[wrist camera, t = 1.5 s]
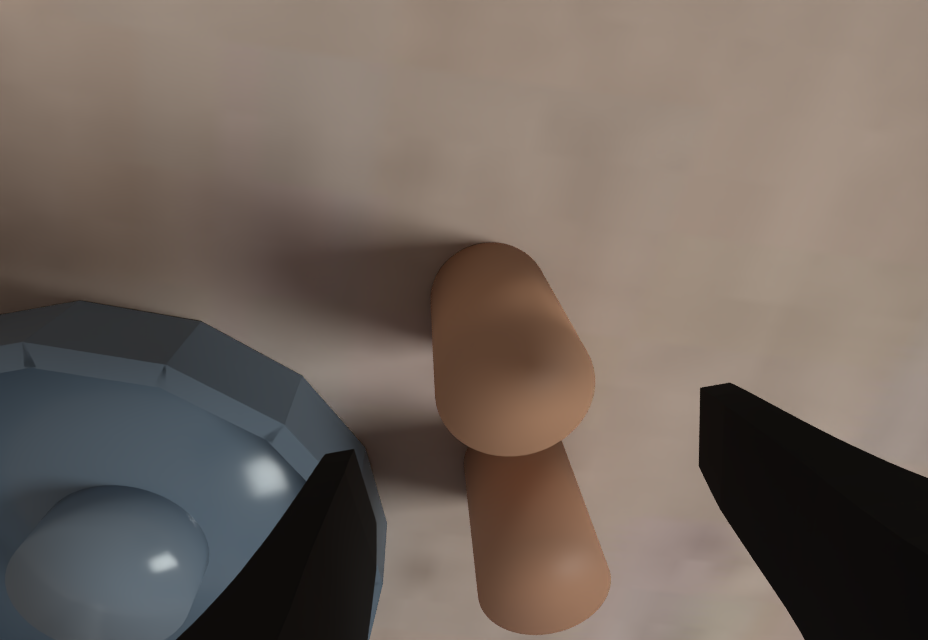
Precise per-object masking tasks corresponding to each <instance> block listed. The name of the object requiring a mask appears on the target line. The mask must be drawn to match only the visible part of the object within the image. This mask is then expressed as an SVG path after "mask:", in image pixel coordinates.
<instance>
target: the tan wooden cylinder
mask: <svg viewBox="0 0 928 640" xmlns="http://www.w3.org/2000/svg"><path fill="white" fill-rule="evenodd" d="M431 322H432V343H433V363H434V384H435V399H436V406H437V409H438V412H439V415H440V417H441V419H442V421H443V423H444V424H445V426H446V427H447V429H448V430H449V431H450V432H451V433H452V434H453V436H455V437H456V438H457V439H458V440H459V441H461V442H462V443H464V444H465V445H467V446H468V447H470V448H473V449H475V450H477V451H480V452H483V453H486V454H490V455H495V456H522V455H528V454H532V453H536V452H539V451H542V450H544V449H546V448H549V447H551V446H553V445H555V444H556V443H558V442H559V441H561V440H563V439H564V438H565V437H566V436H568V435H569V434H570V433H571V432H572V431H573V430H574V429H575V428H576V427H577V426H578V425H579V424H580V422H581V421H582V420H583V418H584V416H585V415H586V413H587V412H588V409H589V407H590V405H591V402H592V399H593V395H594V389H595V374H594V368H593V365H592V361H591V359H590V357H589V355H588V353H587V351H586V349H585V347H584V345H583V344H582V342H581V340H580V338H579V337H578V335H577V333H576V331H575V330H574V328H573V326H572V324H571V322H570V321H569V319H568V317H567V315H566V314H565V312H564V310H563V308H562V307H561V305H560V303H559V301H558V300H557V298H556V296H555V294H554V292H553V291H552V289H551V287H550V285H549V284H548V282H547V280H546V278H545V277H544V275H543V273H542V271H541V269H540V268H539V266H538V265H537V264H536V262H535V261H534V260H533V259H532V258H531V257H530V256H529V255H527V254H526V253H525V252H523V251H521V250H520V249H518V248H515V247H513V246H510V245H507V244H502V243H480V244H476V245H472V246H470V247H467V248H465V249H463V250H461V251H459V252H457V253H456V254H455V255H453V256H452V257H451V258H450V259H448V260H447V261H446V262H445V264H444V265H443V266H442V267H441V268H440V270H439V272H438V273H437V275H436V277H435V279H434V282H433V285H432V289H431Z"/></svg>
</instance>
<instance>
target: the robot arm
mask: <svg viewBox="0 0 928 640" xmlns="http://www.w3.org/2000/svg"><path fill="white" fill-rule="evenodd" d="M699 467H700V469H701V472H702V474H703V476H704V478H705V480H706V482H707V484H708V486H709V488H710V490H711V492H712V494H713V496H714V498H715V500H716V502H717V504H718V506H719V508H720V510H721V511H722V513H723V514H724V516H725V518H726V519H727V521H728V522H729V524H730V525H731V527H732V528H733V530H734V531H735V533H736V534H737V536H738V537H739V539H740V540H741V542H742V543H743V545H744V546H745V548H746V549H747V551H748V552H749V554H750V555H751V557H752V558H753V560H754V561H755V563H756V564H757V566H758V567H759V569H760V570H761V572H762V573H763V575H764V576H765V577H766V579H767V580H768V582H769V583H770V585H771V586H772V588H773V589H774V591H775V592H776V594H777V595H778V597H779V598H780V600H781V601H782V603H783V604H784V606H785V607H786V609H787V611H788V612H789V614H790V615H791V617H792V619H793V620H794V622H795V623H796V625H797V627H798V628H799V630H800V632H801V634H802V635H803V637H804V639H805V640H928V478H926V477H924V476H921V475H919V474H916V473H913V472H911V471H908V470H906V469H904V468H901V467H899V466H896V465H894V464H892V463H889V462H887V461H885V460H883V459H880V458H878V457H876V456H874V455H872V454H869V453H867V452H865V451H863V450H861V449H859V448H856V447H854V446H852V445H850V444H848V443H846V442H844V441H842V440H840V439H838V438H835V437H833V436H831V435H829V434H827V433H825V432H823V431H821V430H819V429H818V428H816V427H814V426H812V425H810V424H808V423H806V422H804V421H802V420H800V419H798V418H796V417H795V416H793V415H791V414H789V413H787V412H785V411H783V410H781V409H780V408H778V407H776V406H774V405H772V404H770V403H768V402H767V401H765V400H763V399H761V398H759V397H757V396H755V395H754V394H752V393H750V392H748V391H746V390H744V389H742V388H740V387H738V386H736V385H734V384H732V383H725V384H719V385H714V386H708V387H702V388H700V431H699ZM376 568H377V522H376V519H375V515H374V512H373V509H372V506H371V502H370V499H369V496H368V493H367V489H366V486H365V483H364V480H363V476H362V473H361V470H360V467H359V463H358V460H357V457H356V454H355V450H354V449H350V450H345V451H339V452H333V453H328V454H325V455H324V456H323V457H322V459H321V460H320V462H319V463H318V465H317V466H316V467H315V469H314V470H313V472H312V473H311V475H310V476H309V478H308V479H307V481H306V482H305V484H304V485H303V487H302V488H301V490H300V491H299V493H298V494H297V496H296V497H295V499H294V500H293V502H292V503H291V505H290V506H289V507H288V509H287V510H286V512H285V513H284V514H283V516H282V517H281V519H280V520H279V522H278V523H277V524H276V526H275V527H274V529H273V530H272V531H271V533H270V534H269V535H268V537H267V538H266V539H265V541H264V542H263V543H262V545H261V546H260V547H259V548H258V550H257V551H256V552H255V553H254V555H253V556H252V557H251V559H250V560H249V561H248V562H247V564H246V565H245V566H244V567H243V569H242V570H241V571H240V572H239V574H238V575H237V576H236V577H235V578H234V580H233V581H232V582H231V583H230V584H229V585H228V586H227V588H226V589H225V590H224V591H223V592H222V593H221V594H220V595H219V596H218V597H217V598H216V600H215V601H214V602H213V603H212V604H211V605H210V606H209V607H208V608H207V609H206V610H205V611H204V613H203V614H202V615H201V616H200V617H199V618H198V619H197V620H196V621H195V622H194V623H193V624H192V625H191V626H190V627H189V628H188V629H186V630H185V631H184V632H183V633H182V634H181V635H180V636H179V637H178V638H177V639H176V640H368V634H369V626H370V618H371V610H372V602H373V594H374V586H375V578H376Z"/></svg>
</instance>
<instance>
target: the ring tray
mask: <svg viewBox="0 0 928 640" xmlns="http://www.w3.org/2000/svg"><path fill="white" fill-rule="evenodd" d="M350 449H354V450H355V454H356V457H357V460H358V463H359V467H360V470H361V473H362V476H363V480H364V483H365V486H366V489H367V493H368V496H369V499H370V502H371V506H372V509H373V512H374V515H375V519H376V522H377V568H376V578H375V586H374V594H373V602H372V610H371V618H370V626H369V634H368V640H369V638H370V634H371V630H372V626H373V622H374V618H375V614H376V610H377V605H378V601H379V597H380V593H381V589H382V585H383V574H384V559H385V545H386V530H387V521H386V518H385V514H384V511H383V507H382V504H381V501H380V497H379V494H378V490H377V487H376V483H375V480H374V476H373V473H372V469H371V466H370V463H369V459H368V456H367V452H366V449H365V447H364V446H363V445H362V444H361V442H360V441H359V440H358V439H357V438H356V437H355V436H354V435H353V433H352V432H351V431H350V430H349V429H348V428H347V427H346V425H345V424H344V423H343V422H342V421H341V420H340V419H339V417H338V416H337V415H336V414H335V413H334V412H333V411H332V409H331V408H330V407H329V406H328V405H327V404H326V403H325V401H324V400H323V399H322V398H321V397H320V396H319V395H318V393H317V392H316V391H315V390H314V389H313V388H312V387H311V385H310V384H309V383H308V382H307V381H306V380H305V379H304V377H303V376H302V375H300V374H298V373H296V372H294V371H292V370H290V369H289V368H287V367H285V366H283V365H281V364H279V363H277V362H276V361H274V360H272V359H270V358H268V357H266V356H264V355H263V354H261V353H259V352H257V351H255V350H253V349H251V348H250V347H248V346H246V345H244V344H242V343H240V342H238V341H237V340H235V339H233V338H231V337H229V336H227V335H225V334H224V333H222V332H220V331H218V330H216V329H214V328H212V327H211V326H209V325H207V324H205V323H203V322H201V321H196V320H190V319H184V318H178V317H172V316H167V315H161V314H155V313H149V312H143V311H138V310H132V309H126V308H120V307H114V306H109V305H103V304H97V303H91V302H85V301H74V302H69V303H63V304H57V305H52V306H46V307H41V308H35V309H30V310H24V311H18V312H13V313H7V314H2V315H0V640H176V639H177V638H178V637H179V636H180V635H181V634H182V633H183V632H184V631H185V630H186V629H188V628H189V627H190V626H191V625H192V624H193V623H194V622H195V621H196V620H197V619H198V618H199V617H200V616H201V615H202V614H203V613H204V611H205V610H206V609H207V608H208V607H209V606H210V605H211V604H212V603H213V602H214V601H215V600H216V598H217V597H218V596H219V595H220V594H221V593H222V592H223V591H224V590H225V589H226V588H227V586H228V585H229V584H230V583H231V582H232V581H233V580H234V578H235V577H236V576H237V575H238V574H239V572H240V571H241V570H242V569H243V567H244V566H245V565H246V564H247V562H248V561H249V560H250V559H251V557H252V556H253V555H254V553H255V552H256V551H257V550H258V548H259V547H260V546H261V545H262V543H263V542H264V541H265V539H266V538H267V537H268V535H269V534H270V533H271V531H272V530H273V529H274V527H275V526H276V524H277V523H278V522H279V520H280V519H281V517H282V516H283V514H284V513H285V512H286V510H287V509H288V507H289V506H290V505H291V503H292V502H293V500H294V499H295V497H296V496H297V494H298V493H299V491H300V490H301V488H302V487H303V485H304V484H305V482H306V481H307V479H308V478H309V476H310V475H311V473H312V472H313V470H314V469H315V467H316V466H317V465H318V463H319V462H320V460H321V459H322V457H323V456H324V455H325V454H328V453H333V452H339V451H345V450H350Z"/></svg>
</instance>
